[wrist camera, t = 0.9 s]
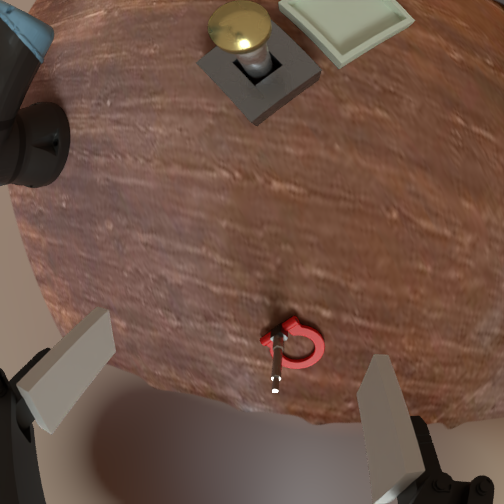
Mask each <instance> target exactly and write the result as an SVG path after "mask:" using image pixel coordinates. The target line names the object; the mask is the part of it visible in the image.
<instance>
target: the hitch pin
mask: <svg viewBox="0 0 504 504" xmlns="http://www.w3.org/2000/svg"><path fill="white" fill-rule="evenodd" d="M271 32H272V25H271V20H270V17H269V14H268V12H267V11H266V10H265V9H264V8H263V7H262V6H261V5H259V4H257V3H255V2H252V1H246V0H238V1H233V2H229V3H226V4H224V5H223V6H221V7H219V8H218V9H217V10H216V11H215V12H214V13H213V14H212V16H211V17H210V20H209V22H208V33H209V36H210V38H211V39H212V40H213V42H214V43H215V44H216V45H217V46H218V47H219V48H220V49H221V50H223V51H225V52H227V53H230V54H235V56H236V57H237V59H238V61H239V62H240V64H241V65H242V67H243V68H244V70H245V71H246V73H247V74H248V76H249V78H250V79H251V81H252V82H253V83H254V84H256V85H257V84H258V83H259V82H261V81H262V80H263V79H265V78H266V77H267V76H269V75H270V74H271V73H273V72H274V68H273V64H272V61H271V57H270V54H269V50H268V47H267V43H266V42H267V41H268V39H269V38H270V35H271Z"/></svg>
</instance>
